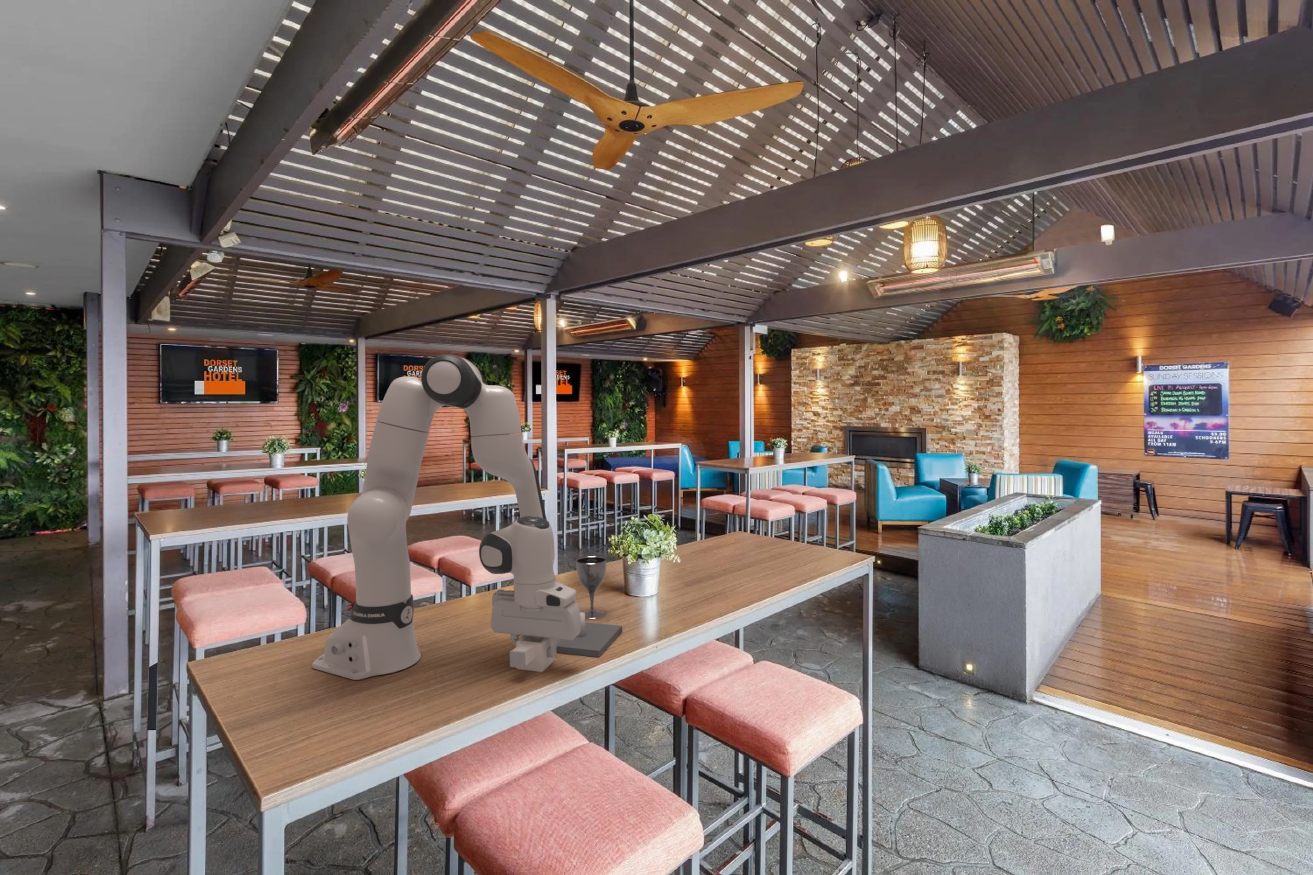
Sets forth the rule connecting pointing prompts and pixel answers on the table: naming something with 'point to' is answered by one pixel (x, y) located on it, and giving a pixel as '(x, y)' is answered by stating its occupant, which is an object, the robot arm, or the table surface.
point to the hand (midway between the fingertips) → (536, 654)
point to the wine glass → (591, 580)
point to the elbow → (531, 653)
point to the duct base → (590, 639)
